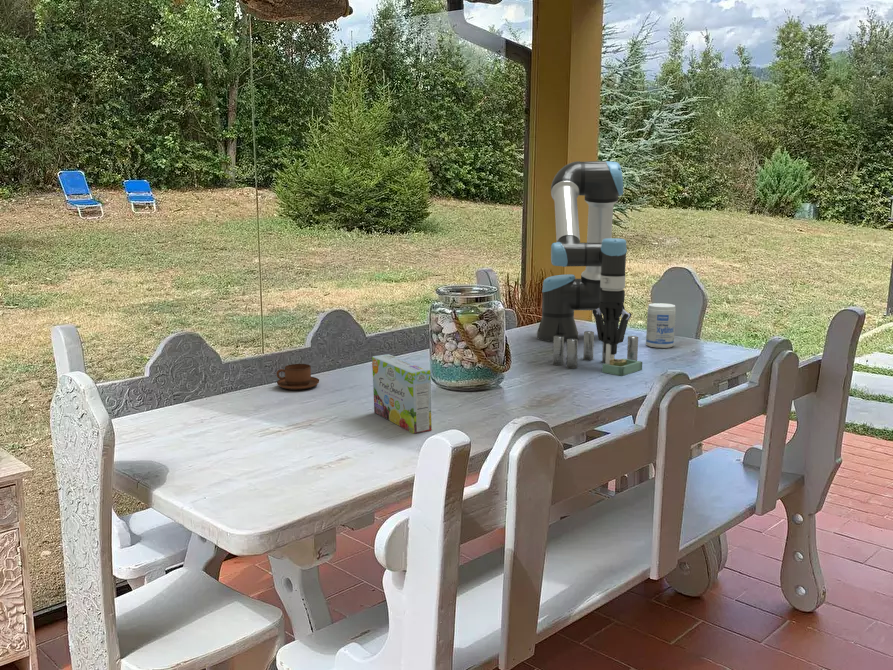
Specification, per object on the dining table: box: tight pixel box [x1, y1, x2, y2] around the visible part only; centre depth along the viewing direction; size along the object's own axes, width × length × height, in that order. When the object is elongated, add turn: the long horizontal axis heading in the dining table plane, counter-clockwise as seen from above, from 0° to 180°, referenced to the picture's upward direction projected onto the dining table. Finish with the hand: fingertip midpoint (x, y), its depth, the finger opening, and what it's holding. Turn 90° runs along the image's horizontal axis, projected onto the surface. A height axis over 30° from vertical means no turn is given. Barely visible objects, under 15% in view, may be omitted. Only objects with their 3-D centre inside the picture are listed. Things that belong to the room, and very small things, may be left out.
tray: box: [601, 358, 643, 377], centre depth 261 cm, size 7×11×2 cm, turn 136°
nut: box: [610, 358, 627, 366], centre depth 262 cm, size 5×4×3 cm
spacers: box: [552, 330, 639, 370], centre depth 269 cm, size 21×20×9 cm
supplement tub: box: [645, 302, 677, 349], centre depth 298 cm, size 10×10×15 cm
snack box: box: [371, 353, 433, 435], centre depth 208 cm, size 21×6×15 cm, turn 32°
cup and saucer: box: [276, 363, 320, 391], centre depth 243 cm, size 12×12×6 cm
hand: (609, 364), depth 264 cm, fingers closed
